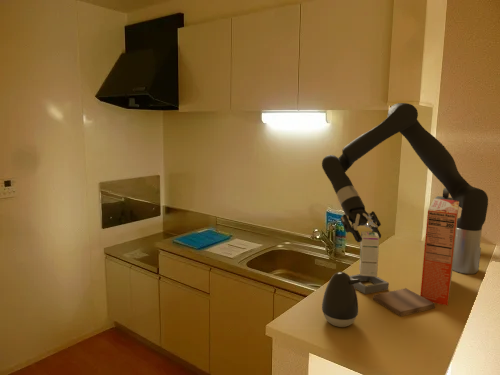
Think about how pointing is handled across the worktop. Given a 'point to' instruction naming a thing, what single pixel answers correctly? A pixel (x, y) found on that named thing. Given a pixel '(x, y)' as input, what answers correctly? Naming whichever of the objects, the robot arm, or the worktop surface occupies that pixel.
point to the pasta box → (439, 250)
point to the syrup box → (369, 254)
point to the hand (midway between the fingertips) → (369, 239)
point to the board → (403, 302)
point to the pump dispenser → (340, 300)
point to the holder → (376, 287)
